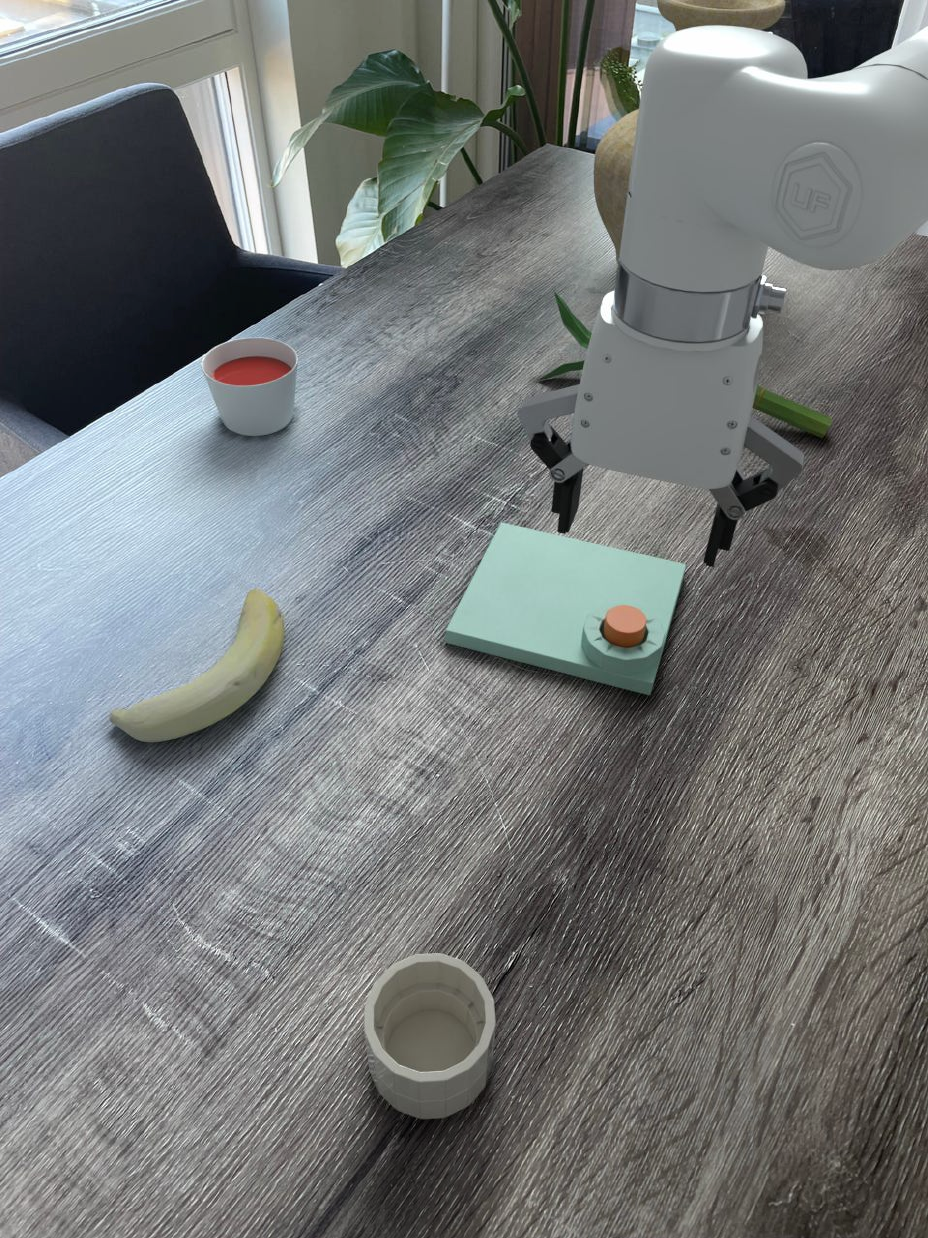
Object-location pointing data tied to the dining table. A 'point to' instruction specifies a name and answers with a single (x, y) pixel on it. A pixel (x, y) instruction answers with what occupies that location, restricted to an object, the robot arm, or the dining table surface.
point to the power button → (624, 626)
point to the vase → (686, 6)
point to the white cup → (430, 1035)
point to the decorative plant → (763, 398)
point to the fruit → (214, 680)
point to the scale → (566, 606)
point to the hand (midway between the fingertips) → (638, 536)
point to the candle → (252, 384)
